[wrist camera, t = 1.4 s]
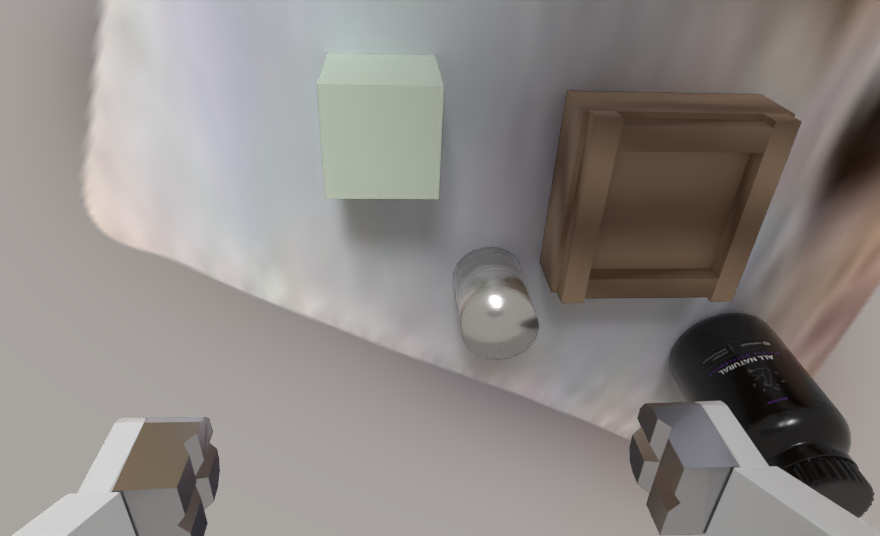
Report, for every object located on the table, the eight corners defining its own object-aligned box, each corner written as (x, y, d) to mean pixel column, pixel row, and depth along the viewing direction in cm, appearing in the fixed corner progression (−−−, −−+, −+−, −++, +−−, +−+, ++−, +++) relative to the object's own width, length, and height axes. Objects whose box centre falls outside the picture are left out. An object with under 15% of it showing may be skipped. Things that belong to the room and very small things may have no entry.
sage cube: (327, 52, 27) (316, 83, 23) (435, 55, 28) (444, 86, 24) (333, 154, 30) (324, 198, 26) (431, 155, 30) (438, 199, 26)
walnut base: (566, 90, 29) (590, 118, 26) (761, 94, 30) (807, 121, 27) (539, 262, 34) (555, 303, 31) (704, 261, 35) (737, 301, 32)
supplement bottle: (720, 292, 37) (844, 447, 27) (790, 333, 39) (928, 490, 29) (644, 364, 40) (730, 528, 30) (714, 399, 42) (815, 561, 32)
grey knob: (454, 247, 34) (464, 299, 29) (524, 247, 34) (543, 298, 30) (451, 303, 36) (459, 360, 32) (516, 303, 36) (533, 358, 32)
